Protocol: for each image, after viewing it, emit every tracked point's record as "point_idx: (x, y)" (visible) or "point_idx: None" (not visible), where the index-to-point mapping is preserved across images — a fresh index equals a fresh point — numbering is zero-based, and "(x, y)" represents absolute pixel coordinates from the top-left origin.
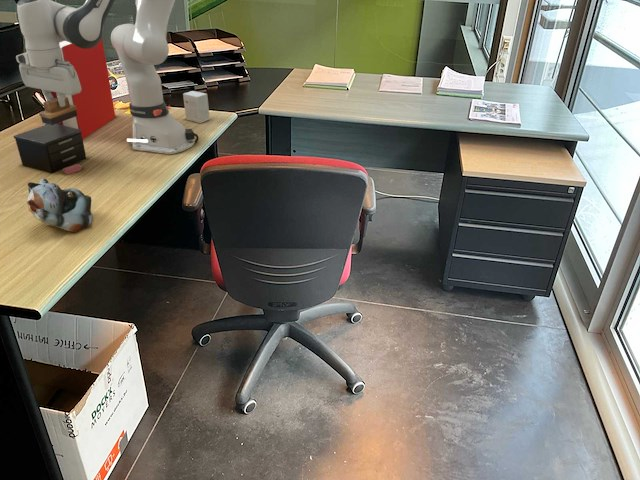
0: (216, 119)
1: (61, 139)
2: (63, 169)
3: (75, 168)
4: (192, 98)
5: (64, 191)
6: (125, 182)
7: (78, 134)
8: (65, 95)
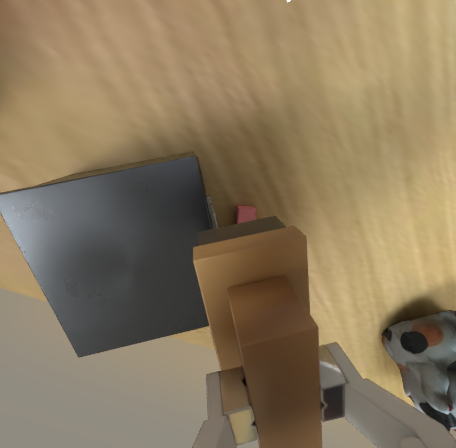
0: None
1: None
2: None
3: None
4: None
5: (454, 364)
6: (397, 179)
7: (200, 175)
8: (429, 420)
